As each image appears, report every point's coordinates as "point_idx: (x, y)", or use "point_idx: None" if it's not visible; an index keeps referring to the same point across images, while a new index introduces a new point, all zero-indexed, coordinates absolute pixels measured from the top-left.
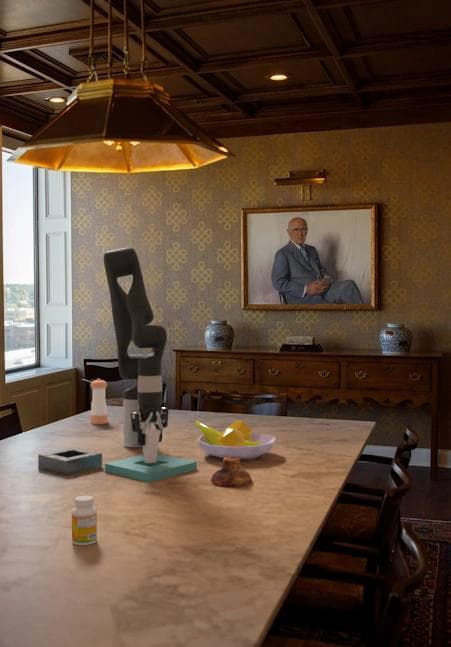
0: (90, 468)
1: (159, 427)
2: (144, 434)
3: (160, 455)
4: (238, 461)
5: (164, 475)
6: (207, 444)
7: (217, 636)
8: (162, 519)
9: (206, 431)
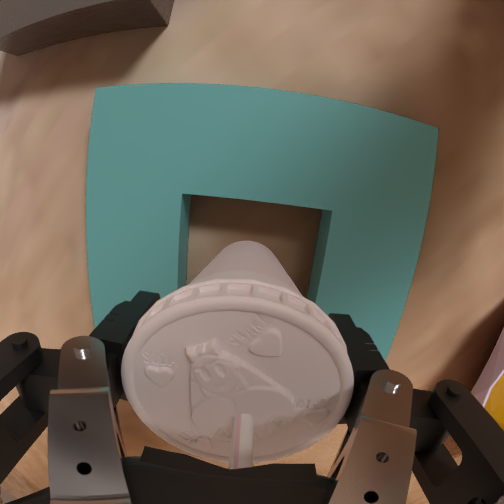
0: (104, 29)
1: (341, 444)
2: (122, 394)
3: (414, 206)
4: None
5: None
6: (498, 377)
7: (6, 491)
8: (30, 453)
9: None
